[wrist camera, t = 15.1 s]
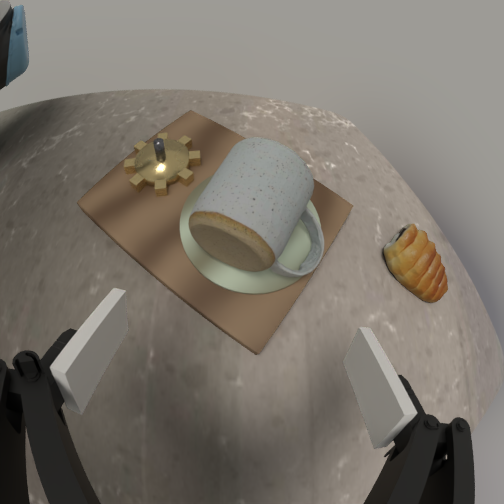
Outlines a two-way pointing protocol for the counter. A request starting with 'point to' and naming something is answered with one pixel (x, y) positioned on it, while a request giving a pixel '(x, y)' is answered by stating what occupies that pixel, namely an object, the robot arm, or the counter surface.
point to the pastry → (416, 264)
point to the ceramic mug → (257, 208)
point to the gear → (162, 164)
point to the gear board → (192, 254)
